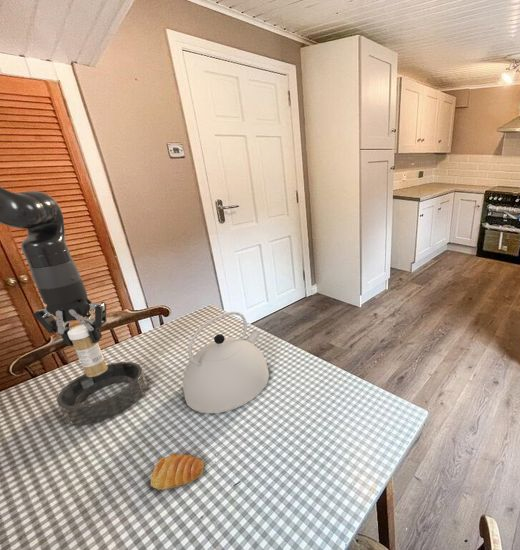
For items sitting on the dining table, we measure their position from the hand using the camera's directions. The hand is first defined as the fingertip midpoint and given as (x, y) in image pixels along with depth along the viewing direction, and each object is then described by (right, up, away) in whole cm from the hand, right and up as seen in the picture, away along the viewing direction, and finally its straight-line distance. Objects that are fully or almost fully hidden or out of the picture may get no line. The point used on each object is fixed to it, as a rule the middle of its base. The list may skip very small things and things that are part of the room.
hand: (84, 342), depth 76 cm
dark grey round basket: (0, -18, +7) cm, 19 cm away
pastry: (+31, -26, -12) cm, 42 cm away
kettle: (+31, -15, +14) cm, 37 cm away
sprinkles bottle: (0, -9, +4) cm, 10 cm away
